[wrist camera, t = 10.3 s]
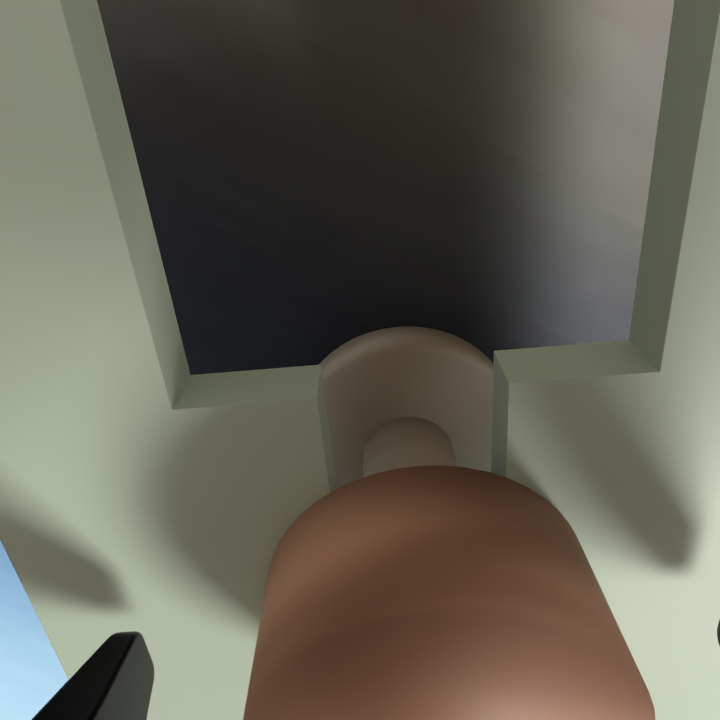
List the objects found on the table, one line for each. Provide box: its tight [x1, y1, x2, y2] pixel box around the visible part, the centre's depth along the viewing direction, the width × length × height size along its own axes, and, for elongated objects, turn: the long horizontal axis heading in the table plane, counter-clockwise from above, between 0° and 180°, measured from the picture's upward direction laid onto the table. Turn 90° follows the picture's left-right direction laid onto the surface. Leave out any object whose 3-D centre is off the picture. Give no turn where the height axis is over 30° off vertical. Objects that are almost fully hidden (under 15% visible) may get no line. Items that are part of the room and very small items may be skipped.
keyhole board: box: [0, 0, 720, 720], centre depth 11 cm, size 13×18×6 cm
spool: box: [243, 326, 656, 720], centre depth 11 cm, size 5×5×8 cm
